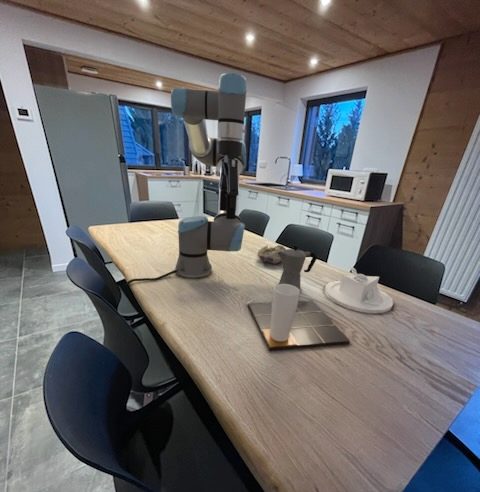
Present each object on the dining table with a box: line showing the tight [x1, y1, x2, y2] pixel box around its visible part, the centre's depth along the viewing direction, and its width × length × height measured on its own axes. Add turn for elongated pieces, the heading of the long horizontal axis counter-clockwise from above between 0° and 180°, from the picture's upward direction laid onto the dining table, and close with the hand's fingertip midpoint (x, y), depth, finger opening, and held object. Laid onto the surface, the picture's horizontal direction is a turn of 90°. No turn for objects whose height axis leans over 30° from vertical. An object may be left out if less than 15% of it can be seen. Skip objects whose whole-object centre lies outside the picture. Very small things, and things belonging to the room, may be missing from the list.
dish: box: [324, 266, 394, 314], centre depth 101 cm, size 25×25×11 cm
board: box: [247, 300, 351, 352], centre depth 83 cm, size 24×24×1 cm
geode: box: [256, 244, 287, 265], centre depth 133 cm, size 17×9×15 cm
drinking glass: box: [270, 283, 301, 342], centre depth 71 cm, size 7×7×15 cm
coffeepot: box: [277, 244, 318, 290], centre depth 102 cm, size 15×9×18 cm, turn 92°
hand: (226, 214), depth 87 cm, fingers open, 13 cm apart
